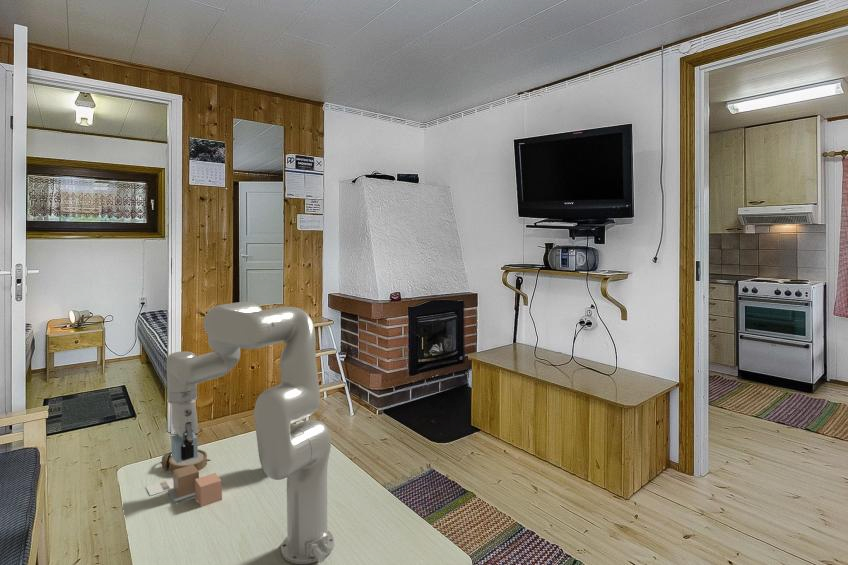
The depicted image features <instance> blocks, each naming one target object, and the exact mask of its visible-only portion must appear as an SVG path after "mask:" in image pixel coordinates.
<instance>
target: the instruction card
mask: <svg viewBox="0 0 848 565" xmlns="http://www.w3.org/2000/svg"><path fill="white" fill-rule="evenodd" d="M145 488H146V491H147V493H148V495H149V497H152V496H155V495H157V494H162V493H164V492H168V489H171V488H174V486H173V478H171V479H168V480H164V481H161V482H158V483H154V484H151V485H148V486H145Z"/></svg>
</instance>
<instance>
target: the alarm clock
mask: <svg viewBox="0 0 848 565" xmlns="http://www.w3.org/2000/svg"><path fill="white" fill-rule="evenodd" d="M171 454H172V451H171V452H167V453H165V454H164V455H163V456H162V457H161V461H160V464H161V467H162V469H163V470H165V471H169V472H170V473H171V474H173V470H176V469H180V468H183V467H186V466H190V465H194V466H195V467H196V469H197V470H198V471H199V472H200V471H201V470H203V469H204V468H205V467H207V464H208V462H210V461H211V459H209V458H208V454H207V452H206V451H205V450H202V449H200V448H199V449H198V457H197V458H193V459H190V460H186V461H183V462H179V463H176V461H175V460H174V458H173V457H172V455H171ZM167 469H168V470H167Z"/></svg>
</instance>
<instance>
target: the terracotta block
mask: <svg viewBox="0 0 848 565" xmlns="http://www.w3.org/2000/svg"><path fill="white" fill-rule="evenodd" d="M222 482H223V481H222V479H221V478H220V477H219V476H218V475H217V473H216V472H214V473H211V474H207V475H203V476H199V478H197V479H195V494H196V497H195V500H196V501H197V502H198V504H199V506H200V507H201V508H204V507H206V506H209V505H212V504H214V503H217V502H221V501H222V500H223V487H222Z"/></svg>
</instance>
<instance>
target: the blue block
mask: <svg viewBox="0 0 848 565" xmlns="http://www.w3.org/2000/svg"><path fill="white" fill-rule="evenodd" d="M192 434H193V443H194V457H193V458H197V457H198V448H199V446H198V436H196V435H197V434H194V433H193V432H192ZM183 435H187V433H184V434H183ZM170 438H171V439H170V440H171V441H170V442H171V452H172V455H171V456H172V457H173V458H174V460H175V461H176V463H179V462H183V461H186V460H190V459H193V458H190V459H186V460H182V459H181V447H182V440H181V437H179V435H175V434H173V435H171V437H170ZM186 439H187V437H186V438H184V440H186Z"/></svg>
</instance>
